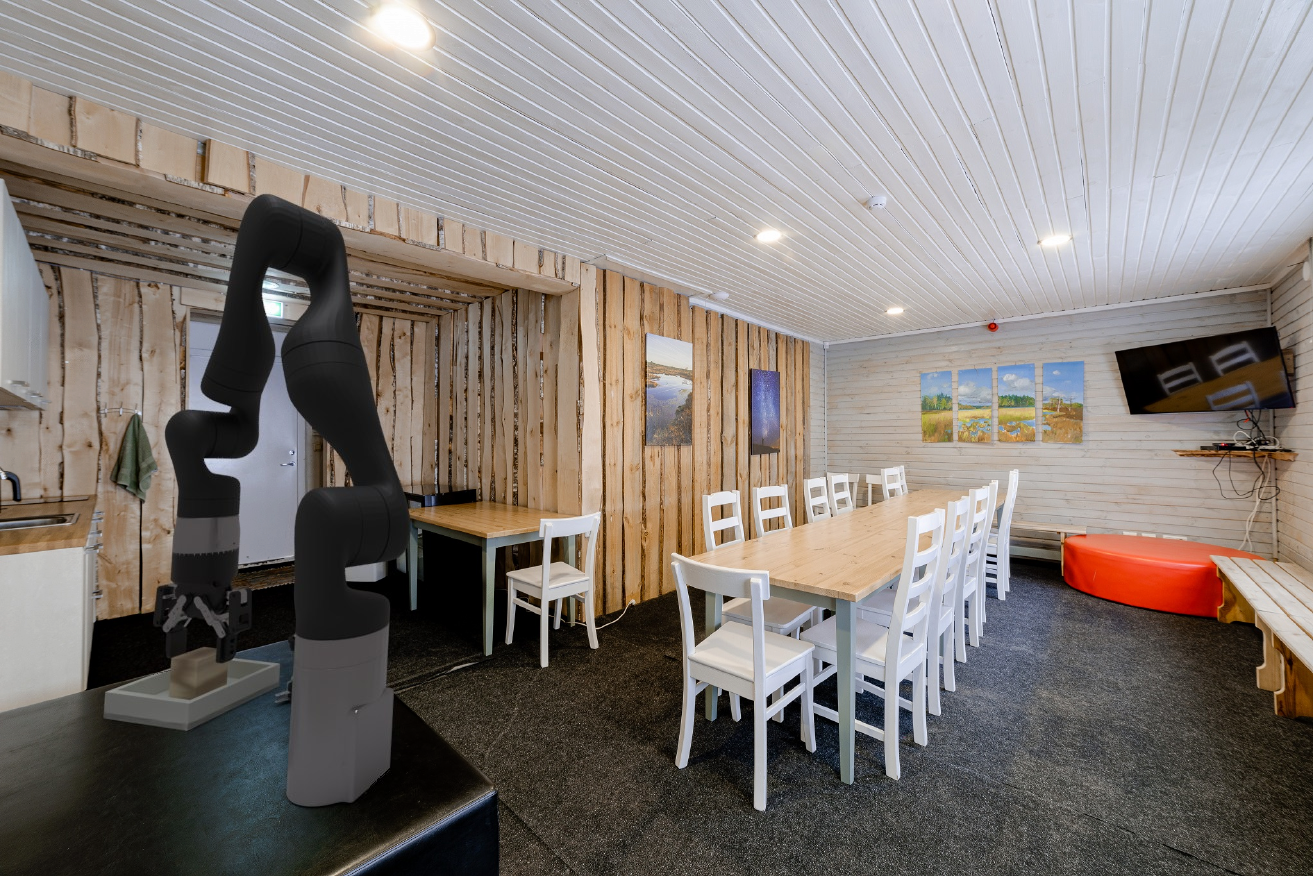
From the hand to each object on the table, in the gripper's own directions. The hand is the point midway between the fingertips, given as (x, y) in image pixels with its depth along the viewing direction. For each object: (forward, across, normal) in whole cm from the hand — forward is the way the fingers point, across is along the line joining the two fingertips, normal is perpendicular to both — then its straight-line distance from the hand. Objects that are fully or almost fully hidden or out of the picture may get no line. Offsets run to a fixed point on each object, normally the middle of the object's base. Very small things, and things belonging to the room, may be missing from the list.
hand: (200, 658), depth 76 cm
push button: (+6, -13, -5) cm, 15 cm away
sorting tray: (+6, 0, 0) cm, 6 cm away
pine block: (+5, 0, 0) cm, 5 cm away
